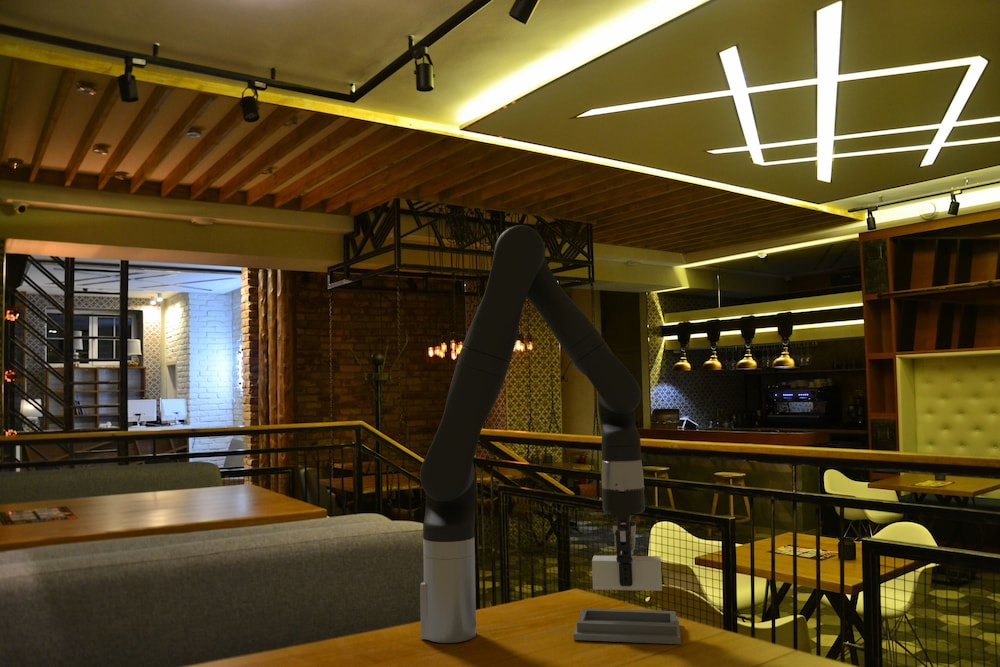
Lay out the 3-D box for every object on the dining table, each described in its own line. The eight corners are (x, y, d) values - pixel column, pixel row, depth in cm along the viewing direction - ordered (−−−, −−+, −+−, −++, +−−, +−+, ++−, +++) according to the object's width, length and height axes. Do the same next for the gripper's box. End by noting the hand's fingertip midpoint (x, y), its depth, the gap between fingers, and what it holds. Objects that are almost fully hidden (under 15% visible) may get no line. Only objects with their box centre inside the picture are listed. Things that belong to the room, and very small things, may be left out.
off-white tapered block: (662, 590, 135) (660, 561, 135) (592, 589, 137) (591, 560, 137) (661, 584, 139) (660, 556, 139) (594, 583, 141) (593, 555, 142)
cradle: (680, 644, 130) (680, 628, 130) (573, 639, 133) (573, 624, 133) (678, 623, 141) (678, 609, 142) (580, 620, 145) (580, 606, 145)
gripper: (604, 481, 147) (608, 572, 146) (598, 490, 133) (602, 591, 132) (644, 480, 146) (648, 573, 144) (643, 490, 132) (647, 592, 130)
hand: (626, 581), depth 138 cm, fingers closed on off-white tapered block, 4 cm apart
